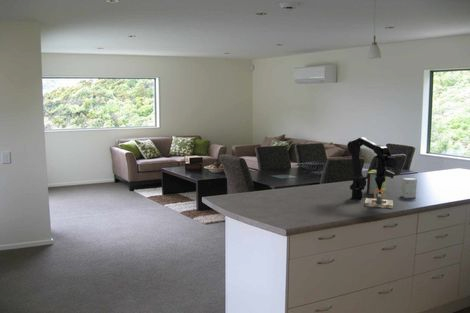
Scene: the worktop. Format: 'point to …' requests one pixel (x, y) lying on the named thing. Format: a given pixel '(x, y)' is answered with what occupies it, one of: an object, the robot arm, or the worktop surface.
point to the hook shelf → (384, 203)
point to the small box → (408, 188)
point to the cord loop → (379, 191)
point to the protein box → (373, 183)
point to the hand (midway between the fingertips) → (379, 189)
